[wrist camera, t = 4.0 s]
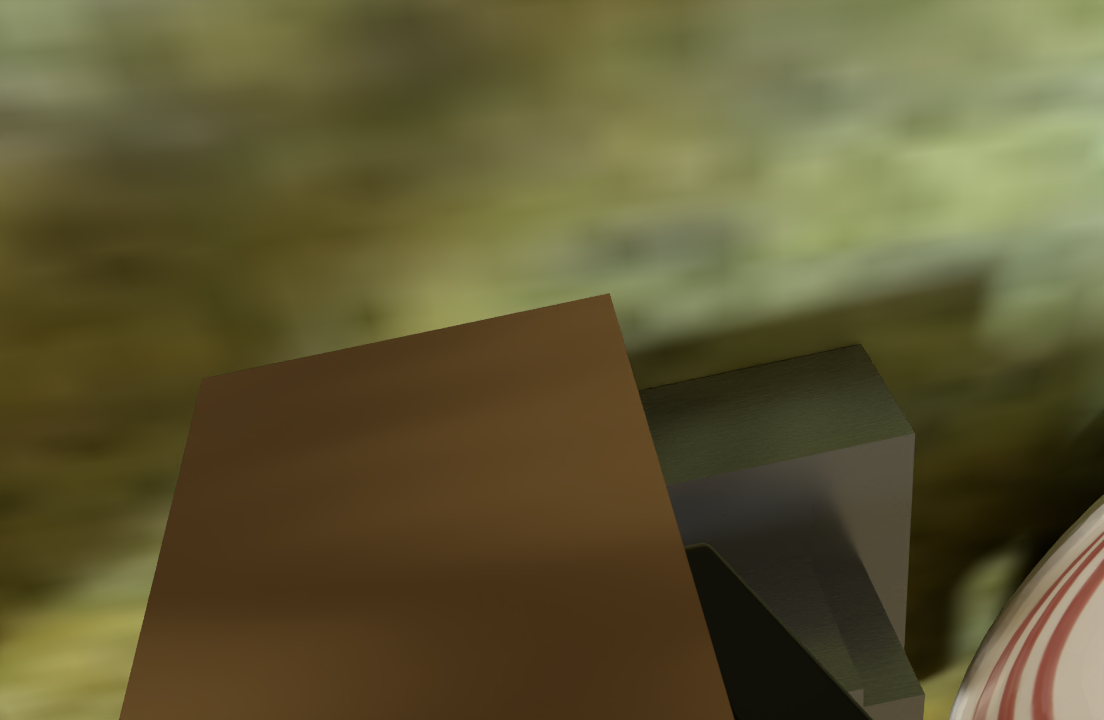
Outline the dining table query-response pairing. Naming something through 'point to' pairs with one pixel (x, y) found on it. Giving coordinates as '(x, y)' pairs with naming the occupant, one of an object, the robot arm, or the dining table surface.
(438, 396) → the brown wooden block
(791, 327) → the dining table surface
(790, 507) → the box
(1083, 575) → the dinner plate
